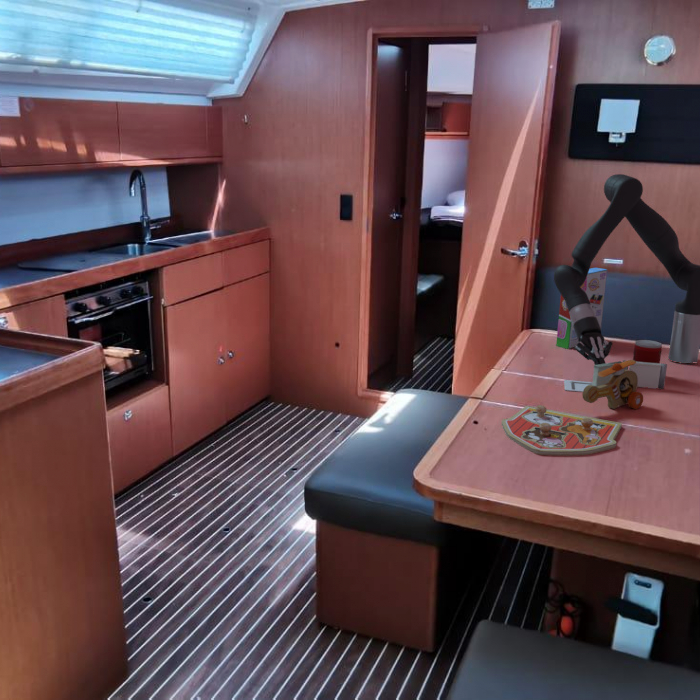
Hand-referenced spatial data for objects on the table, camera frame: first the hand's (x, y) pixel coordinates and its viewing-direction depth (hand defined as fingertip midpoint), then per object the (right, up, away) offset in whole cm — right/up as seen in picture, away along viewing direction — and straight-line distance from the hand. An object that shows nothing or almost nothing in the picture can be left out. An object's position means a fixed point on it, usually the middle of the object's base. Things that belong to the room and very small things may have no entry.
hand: (602, 370), depth 223 cm
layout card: (-6, -5, +1) cm, 8 cm away
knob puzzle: (-24, -16, -36) cm, 46 cm away
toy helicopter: (-4, -10, -17) cm, 20 cm away
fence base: (+13, -5, +2) cm, 14 cm away
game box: (+8, +9, +50) cm, 52 cm away
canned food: (+18, -2, +13) cm, 22 cm away
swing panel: (+1, -5, 0) cm, 5 cm away
